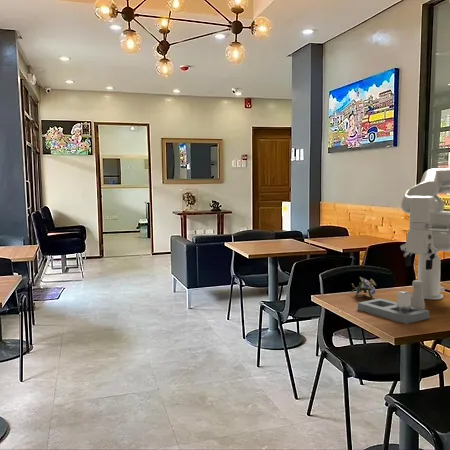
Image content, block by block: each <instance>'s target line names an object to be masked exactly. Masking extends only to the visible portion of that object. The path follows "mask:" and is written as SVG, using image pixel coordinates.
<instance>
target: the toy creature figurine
mask: <svg viewBox="0 0 450 450" xmlns="http://www.w3.org/2000/svg"><path fill="white" fill-rule="evenodd" d="M359 279H360V282H358V285H357V287H355V285H354V283H351V285H352V287H353V289H352V290H351V293H353V292H355V291H356V292H355V296H358V294H360V292H361V293H362V292H363V294H364V293H366V294H367V293H368V296H369V297H370V298H372V297H374V298H375V294H376V288H375V287H377V283H376V282H375V281H374V279H372V278H370V280H368V279H366V278H363V277H361V276H359ZM374 286H375V287H374Z"/></svg>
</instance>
